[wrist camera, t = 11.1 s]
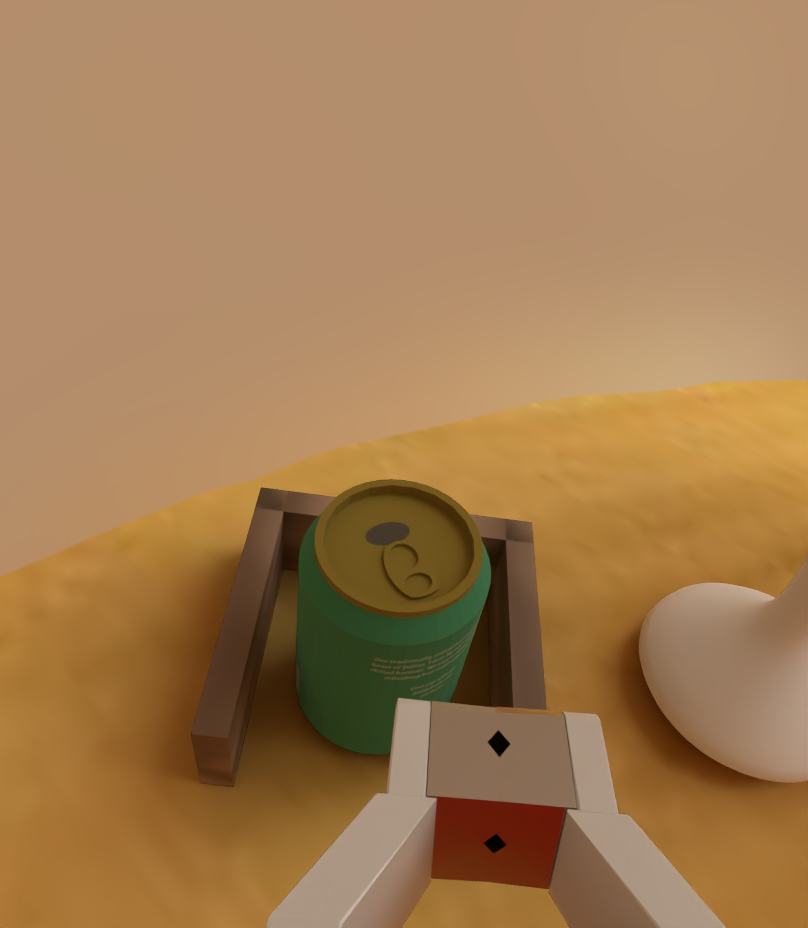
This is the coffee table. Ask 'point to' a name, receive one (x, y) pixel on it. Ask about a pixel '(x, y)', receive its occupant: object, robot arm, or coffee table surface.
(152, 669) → the coffee table surface
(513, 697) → the walnut bracket
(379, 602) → the beverage can
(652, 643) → the flower in vase
